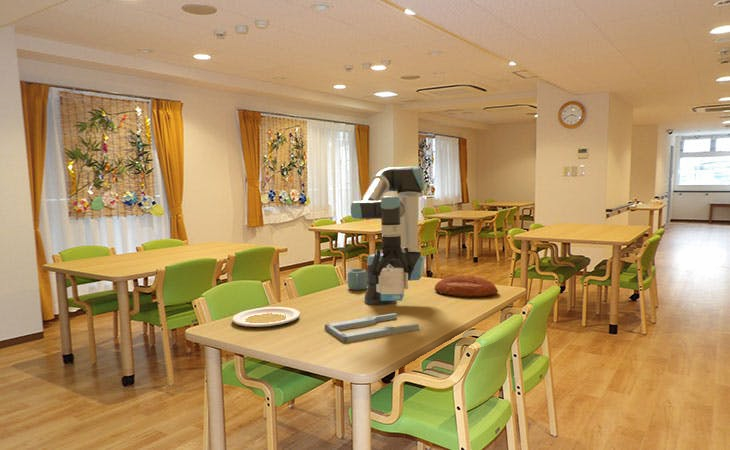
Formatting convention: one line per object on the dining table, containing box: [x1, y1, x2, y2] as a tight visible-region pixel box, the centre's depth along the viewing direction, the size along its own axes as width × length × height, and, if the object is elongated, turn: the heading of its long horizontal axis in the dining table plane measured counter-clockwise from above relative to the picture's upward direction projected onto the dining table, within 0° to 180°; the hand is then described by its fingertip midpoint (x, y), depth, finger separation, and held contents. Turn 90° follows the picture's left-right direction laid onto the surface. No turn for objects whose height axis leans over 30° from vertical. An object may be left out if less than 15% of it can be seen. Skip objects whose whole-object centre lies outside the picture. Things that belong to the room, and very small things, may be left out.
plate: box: [232, 306, 301, 328], centre depth 214 cm, size 28×28×2 cm
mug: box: [347, 268, 368, 291], centre depth 268 cm, size 15×11×10 cm
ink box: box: [380, 264, 405, 302], centre depth 199 cm, size 9×8×13 cm
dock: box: [324, 312, 420, 344], centre depth 196 cm, size 19×32×2 cm, turn 116°
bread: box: [433, 274, 499, 298], centre depth 253 cm, size 23×32×9 cm
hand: (392, 290), depth 199 cm, fingers closed on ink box, 11 cm apart
